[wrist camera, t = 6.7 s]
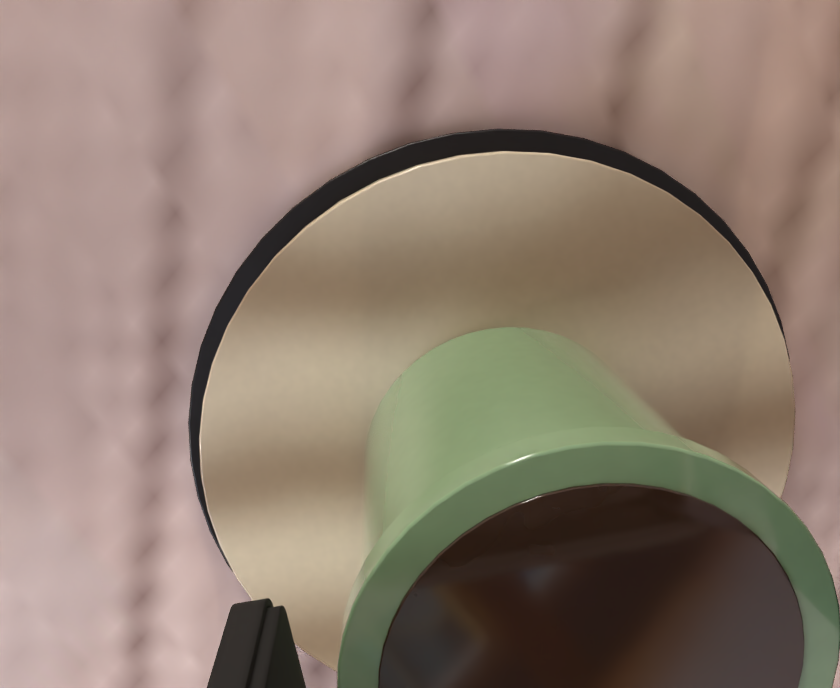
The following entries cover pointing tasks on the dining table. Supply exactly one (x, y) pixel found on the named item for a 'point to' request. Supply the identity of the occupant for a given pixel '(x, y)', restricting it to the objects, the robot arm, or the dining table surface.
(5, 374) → the dining table surface
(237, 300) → the base
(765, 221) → the dining table surface
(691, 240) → the coffee cup on saucer
